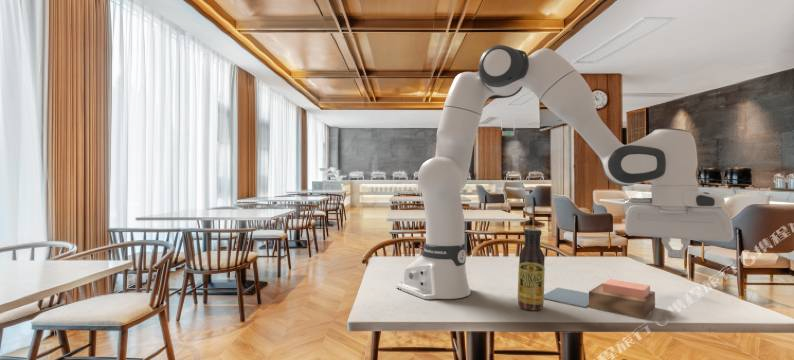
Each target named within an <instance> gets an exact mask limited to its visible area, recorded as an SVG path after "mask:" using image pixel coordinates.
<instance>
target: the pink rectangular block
mask: <svg viewBox="0 0 794 360" xmlns="http://www.w3.org/2000/svg"><path fill="white" fill-rule="evenodd" d="M602 283H603V292H608V293H614V294H620V295H625V296H631V297H637V298H642V299H645V298H646V297H647V296H648V295H649V294H650V291H651V285H650V284H644V283H637V282H629V281H624V280H619V279H611V278H609V279H608V280H606V281H604V282H602Z"/></svg>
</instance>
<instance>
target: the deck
mask: <svg viewBox="0 0 794 360" xmlns="http://www.w3.org/2000/svg"><path fill="white" fill-rule="evenodd" d="M603 283H604V282H602V283H601V284H599V285H597V286H596V287H594V288H592V289H590V290H589V291H588V293H589V306H588V307H589V308H590V309H595V310H599V311H604V312H609V313H613V314H619V315H623V316H628V317H632V318H638V319H643V320H645V319H646V318H648V316H649V315H650V314H651V313H652V312H653V311H654V310H655V309H656V295H655V294H656V292H655V291H652V290H650V294H649V295H648V296H647V297H646V298H645V299H642V298H637V297H631V296H625V295H620V294H614V293H608V292H603Z"/></svg>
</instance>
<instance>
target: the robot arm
mask: <svg viewBox="0 0 794 360" xmlns="http://www.w3.org/2000/svg"><path fill="white" fill-rule="evenodd" d="M477 68H478V71H475V72H473V71H464V72H461V73H458V74H457V75H456V76H455V77H454V79H453V81H452V83H451V86H450V87H449V89H448V92H447V95H446V97H445V101H444V104H443V108H442V112H441V115H440V119H439V122H438V127H437V131H436V145H435V146H436V147H435V154H434V155H435V156H433V157H431V158H429V159H428V160H426V161H425V162H423V164H421V165H420V168H419V170H418V174H417V178H418V179H417V180H418V183H419V186H420V188H421V189H420V190H421V195H422V196H421V197H422V202H423V206H424V207H423V208H424V214H425V243H423V244H419V245H418V247H419V248H418V250H421V254H420V256H418V257H417V258H416V259H415V260H413V261H412V262H411V263H409V264H408V265H407V266H406V267H405V269H404V274H403V275H404V276H403V280H401V281H399V282H398V283H396V286H395V287H397V288H396V289H398V288H399V289H398V290H400V289H401V291H403V292H406V293H407V294H411V295H412V296H416V297H418V298H419V299H423V300H437V299H439V300H453V299H462V298H465V297H468V296H470V294H471V293H472V292H471V288H470V285H469V281H468V275H467V269H466V261H467V246H466V245H467V243H465V215H464V212H463V211H464V210H463V204H462V196H461V191H462V190H464V188H465V187H466V184H467V182H468V177H469V173H470V168H471V163H472V157H473V149H474V144H475V141H476V137H477V133H478V130H479V126H480V122H481V118H482V114H483V111H484V108H485V104H486V102H487V100H497V99H505V98H511V97H512V98H513V97H514V96H516V95H517V94H518V93H520V91H522V89H523V88H527V89H529V90H530V91H531V92H532V93H534V94H535V96H536V97H537V98H538V100H539V101H540V102H541V103H542V104H543V105H544V106H545V107H546V108H547V109H548V110H549V112H551V113H552V114H553V115H555V116H556V117H558V119H559V120H561V121H562V122H564V123H565V124H566V125H568V126H569V127H570V128H572V129H573V130H575V131H576V132H577V134H579V136H581V138H582V139H583V140H584V141H585V142H586V144H587V145H588V146H589V147H590V148H591V149H592V151H593V152H594V153H595V155H596V156H597V157H598V158H599V160H600V164H601V167H602V168H601V169H602V171H603V174H604V176H605V178H606V179H607V180H608V181H609V182H611V183H612V184H614V185H616V186H620V187H630V186H635V185H638V184H641V183H644V182H650V185H651V186H650V187H651V189H650V190H651V192H650V193H651V197H639V198H638V197H631V198H630V199H627V200H626V201H625V202H624V204H623V212H624V214H625V219H624V220H625V221H624V232H625V234H627V235H628V236H630V237H631V236H634V237H647V238H660V239H661V243H662V245H663V246H664V247H665V250H666V251H667V258H670V259H679V260H685V251H686V250H687V249H688V247H689V246H690V245H691V240H692V241H706V242H721V243H722V242H723V243H729V242H731V241H732V240H733V239H734V228H733V220H732V218H731V214H730V213H729V211H728V210H727V209H726V208H724V207H723V206H724V205H725V202H726V201H725V198H724V197H723V196H721V195H716V194H711V193H710V192H704V191H700V190H699V182H698V180H697V176H696V175H697V174H696V173H697V169H698V164H699V163H698V154H697V150H698V149H697V143H696V140H695V137H694V136H693V134H692V133H691V132H690V131H688V130H685V129H681V128H674V127H672V128H671V127H667V128H666V127H665V128H664V127H663V128H662V127H661V128H657V129H654V130H653V131H652V132H650V133H649V134H647V135H646V136H644V137H641V138H640V139H638V140H635V141H633V142H631V143H628V144H623V143H622V142H621V141H620V140H619V139H618V138H617V137H616V135H615V134H614V133H613V132H612V130H611V129H609V127H608V125H606V124H605V123H604V122H603V120H602V119H601V117H600V115H599V114H598V111H597V108H596V103H595V99H594V93H593V91H592V90H591V89H592V88H591V87H590V85H589V84H588V83H587V81H586V79H585V78H584V77H583V75H581V74H580V72H579V71H578V70H577V69H576V68H575V67H574V66H573V65H572V64H571V63H570V62H568V61H567V60H566V59H565V58H564V57H562V56H561V55H560V54H559V53H557V52H556V51H554V50H553V49H551V48H547V47H545V48H544V47H543V48H540V49H538V50H535V51H533V52H532V53H531V54H530V55H527V52H526V51H524V50H520V49H518V48H517V49H516V48H514V47H510V46H507V45H501V44H498V45H493V46H491V47H489V48H488V49H486V50H485V51H484V52H483V53H482V55H481V56H480V59H479V63H478V67H477ZM671 239H677V240H679V239H680V244H682V247H681V248H680V249H673V248H672V246H671V245H670V242H671Z"/></svg>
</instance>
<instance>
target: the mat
mask: <svg viewBox="0 0 794 360" xmlns="http://www.w3.org/2000/svg"><path fill="white" fill-rule="evenodd" d="M544 300H545V301H546V300H547V301H551V302H556V303H559V304H560V303H561V304H565V305H570V306H575V307H580V308H584V309H587V308H588V307H589V292H584V291H579V290H574V289H573V290H572V289H569V288H563V287H556V288H554V289H552V290H550V291H548V292H546V293H544Z"/></svg>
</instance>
